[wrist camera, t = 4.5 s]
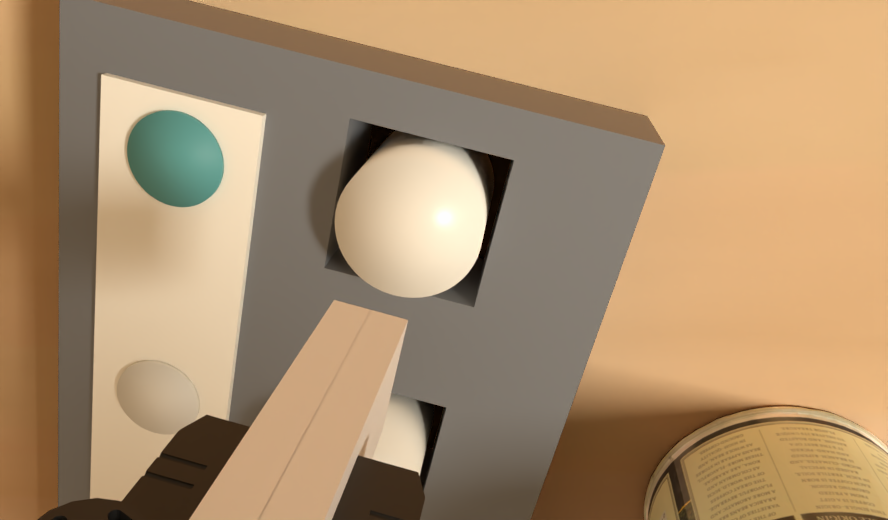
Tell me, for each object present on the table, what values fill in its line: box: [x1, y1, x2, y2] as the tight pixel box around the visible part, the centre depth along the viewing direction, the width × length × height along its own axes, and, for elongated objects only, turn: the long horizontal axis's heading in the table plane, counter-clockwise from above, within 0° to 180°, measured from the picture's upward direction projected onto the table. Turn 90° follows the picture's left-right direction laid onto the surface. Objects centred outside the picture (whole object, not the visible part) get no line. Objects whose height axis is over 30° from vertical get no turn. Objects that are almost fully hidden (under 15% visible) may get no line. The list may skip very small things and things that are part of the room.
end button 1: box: [335, 130, 494, 298], centre depth 24 cm, size 4×4×5 cm
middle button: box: [372, 393, 434, 476], centre depth 26 cm, size 4×4×5 cm
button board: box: [58, 0, 665, 520], centre depth 28 cm, size 18×26×4 cm
